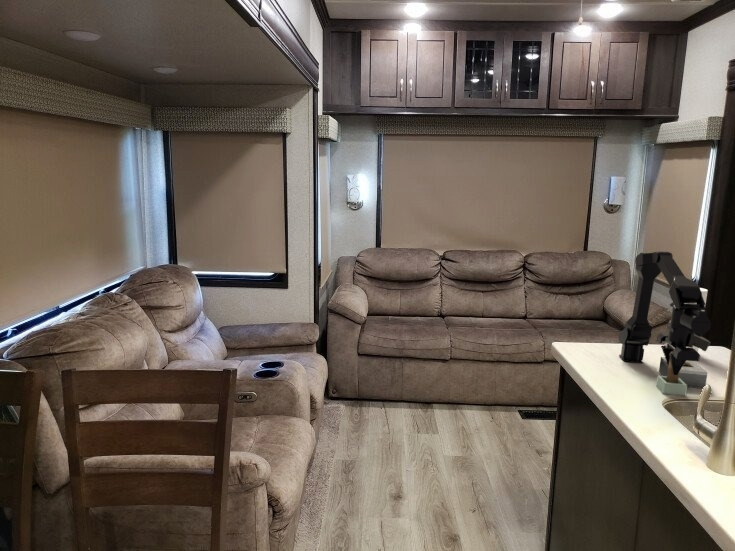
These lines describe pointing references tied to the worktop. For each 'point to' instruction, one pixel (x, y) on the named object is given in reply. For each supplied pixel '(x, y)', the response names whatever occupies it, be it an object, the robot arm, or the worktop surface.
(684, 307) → the robot arm
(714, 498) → the worktop surface
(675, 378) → the brown rod
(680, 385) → the holder cup
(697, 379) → the grey block with hole
